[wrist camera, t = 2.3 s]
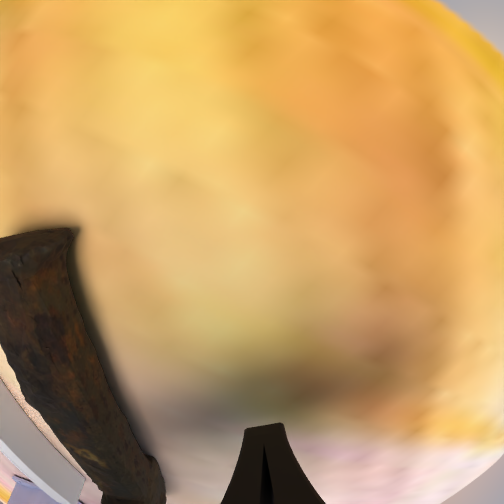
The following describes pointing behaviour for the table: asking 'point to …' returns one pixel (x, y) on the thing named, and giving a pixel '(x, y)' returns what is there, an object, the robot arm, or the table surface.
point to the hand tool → (67, 368)
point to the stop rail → (36, 453)
